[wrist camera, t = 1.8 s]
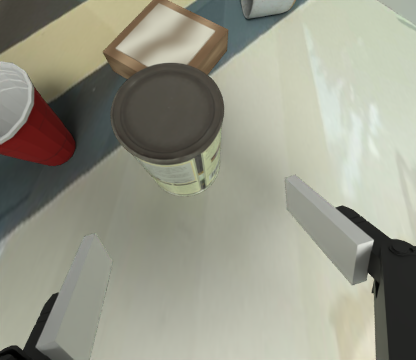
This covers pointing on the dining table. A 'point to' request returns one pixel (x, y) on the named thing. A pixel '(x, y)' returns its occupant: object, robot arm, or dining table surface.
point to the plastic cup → (30, 122)
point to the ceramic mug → (265, 7)
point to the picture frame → (167, 40)
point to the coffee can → (171, 125)
